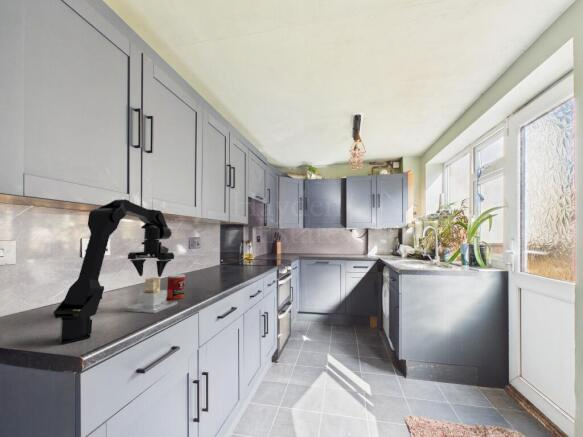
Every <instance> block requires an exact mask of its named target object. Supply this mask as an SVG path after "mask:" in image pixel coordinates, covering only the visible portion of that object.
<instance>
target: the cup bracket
mask: <svg viewBox="0 0 583 437" xmlns="http://www.w3.org/2000/svg"><path fill="white" fill-rule="evenodd" d="M176 305H178V300H167V289H160V292H157V293H145V290H144V291H141V292H137V303H135V304H132V305H129V306H125V307H124V309H123V311H124V312H131V313H132V312H133V313H134V312H135V313H149V314H150V313H151V314H156V313H158V312H161V311H163V310H166V309H168V308H171V307H173V306H176Z"/></svg>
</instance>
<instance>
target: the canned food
mask: <svg viewBox="0 0 583 437" xmlns="http://www.w3.org/2000/svg"><path fill="white" fill-rule="evenodd" d="M185 283H186V274H182V273H176V274H175V273H174V274H169V275H167V285H166V286H167V289H166V290H167V296H166V299H167V300H168V301H178V300H182V299H184V298H185V285H186V284H185Z"/></svg>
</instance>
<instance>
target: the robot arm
mask: <svg viewBox="0 0 583 437" xmlns="http://www.w3.org/2000/svg"><path fill="white" fill-rule="evenodd" d="M127 215H129V216H133V217H136V218H138V219H139V220H140V221H141V222H142V223H144V224H143V225H142V226H141V228H140V229H143V230H144V233H143V234H144V235H143V239H144V240H143V241H142V242H141V245H143V251H133V252H129V253H128V254H127V260H129V261H130V262H131V263H132V264H133V266H134V268H135V270H136V271H137V274H138V275H139V276H140V277H143V274H144V264H145V261H146V260H147V259H157V260H156V261H155V263H156V271H157V278H161V277H162V274H163V272H164V269H165V268H166V265H168V263H169V262H171V261H172V260H174V259H175V254H174V252H169V248H168V247H166V246H164V245H162V241H160V240H169V239H170V238H171V237H172V230H171V229H170V228H169V227H168V226H169V225H168V224H167V222H166V219H165V217H164V215H163V212H162V211H161V210H159V209H149V208H146V207H143V206H141V205H138V204H136V203H133V202H131V201H130V200H129V199H126V198H125V199H114V200H112V201H111V202H109V203H107V204H104V205H101V206H99V207H97V208H94V209H92V210H90V212H89V214H88V219H87V220H88V221H87V227H88V229H89V232H90V235H89V240H88V243H87V247H86V250H85V254H84V257H83V261H82V265H81V267H80V271H79V275H78V279H76V280H75V282H74V283H73V284H72V285H70V287H69V288H68V291H67V293H66V295H65V297H64V298H63V300H62V301H61V302H60V304H59V305H58V306H57V307H56V308H55V309H54V311H53V316H54V319H60V329H59V336H58V337H57V339H58V341H59V343H60V344H62V345H63V344H64V345H65V344H68V343H72V342H77V341H80V340H85V339H90V338H91V334H92V329H93V319H92V318H91V317H92V316H95V315H96V314H97V310H98V308H99V304H100V302H101V300H103V293H104V291H105V286H104V285H101V283H100V281H99V278H100V274H101V272H102V271H101V270H102V266H103V262H104V258H105V254H106V251H107V247H108V242H109V240H110V236H112V234H113V233H114V232H115V231H116V230H117V229H118V227H119V224H120V221H122V220H123V219H124V218H125V217H126V216H127ZM73 310H78V311H73Z"/></svg>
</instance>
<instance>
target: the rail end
mask: <svg viewBox="0 0 583 437" xmlns="http://www.w3.org/2000/svg"><path fill="white" fill-rule="evenodd" d="M144 282H145V283H144V291H145V293H157V292H160V290H161V277H148V278H145V280H144Z"/></svg>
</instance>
